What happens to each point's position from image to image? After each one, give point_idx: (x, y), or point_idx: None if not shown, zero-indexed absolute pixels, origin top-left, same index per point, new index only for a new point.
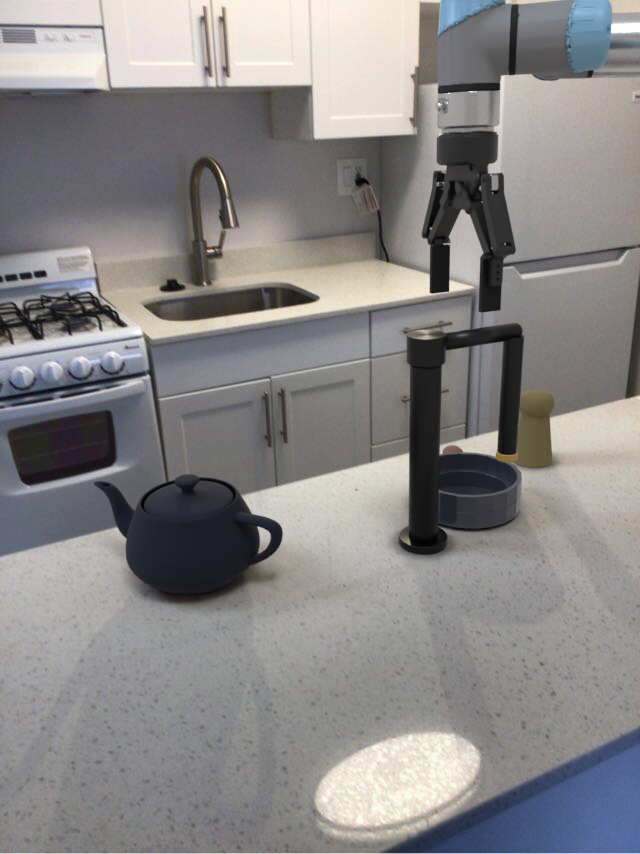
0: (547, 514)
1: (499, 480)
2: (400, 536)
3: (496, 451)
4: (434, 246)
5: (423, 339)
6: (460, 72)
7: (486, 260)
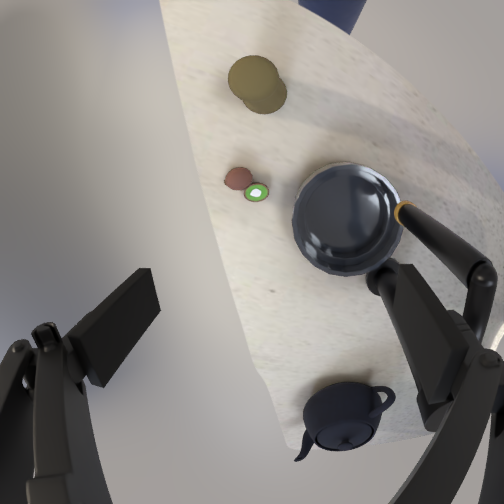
0: (386, 150)
1: (341, 175)
2: (379, 295)
3: (403, 225)
4: (101, 383)
5: None
6: None
7: (448, 391)
